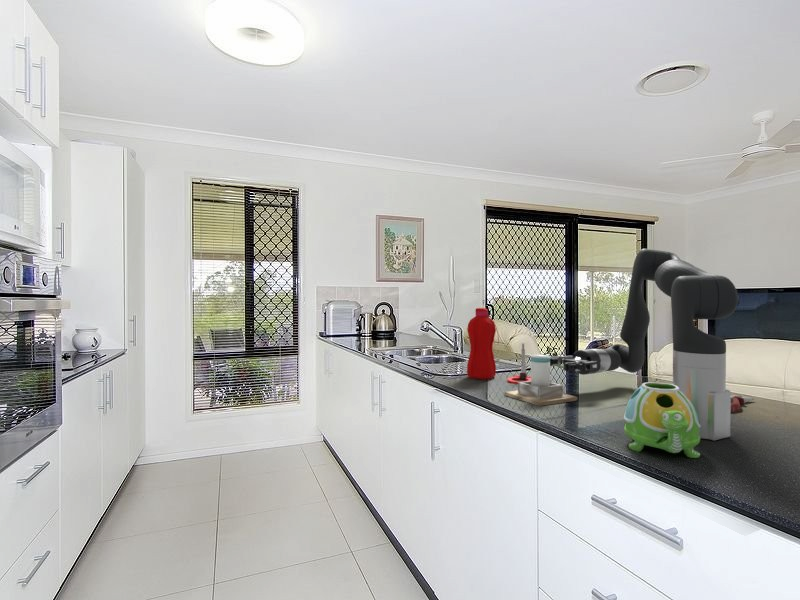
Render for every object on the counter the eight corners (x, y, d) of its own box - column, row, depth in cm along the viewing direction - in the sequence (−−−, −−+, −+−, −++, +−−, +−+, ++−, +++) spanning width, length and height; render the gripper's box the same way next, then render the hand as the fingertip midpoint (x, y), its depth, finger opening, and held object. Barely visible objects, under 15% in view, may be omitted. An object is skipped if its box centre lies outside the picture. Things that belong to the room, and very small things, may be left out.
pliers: (772, 406, 115) (772, 397, 116) (729, 415, 107) (729, 404, 107) (725, 398, 126) (725, 389, 126) (682, 405, 117) (682, 395, 117)
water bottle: (493, 381, 147) (493, 308, 147) (464, 378, 153) (464, 307, 153) (502, 377, 154) (503, 308, 154) (474, 374, 160) (474, 307, 160)
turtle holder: (634, 465, 73) (635, 395, 73) (619, 433, 90) (619, 377, 90) (721, 475, 69) (721, 401, 69) (687, 440, 86) (688, 381, 86)
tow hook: (528, 386, 141) (536, 380, 149) (527, 347, 140) (535, 343, 148) (503, 384, 145) (512, 378, 153) (503, 346, 145) (511, 342, 153)
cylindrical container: (554, 395, 122) (554, 356, 122) (540, 396, 119) (540, 357, 119) (540, 391, 126) (540, 354, 127) (526, 393, 124) (526, 355, 124)
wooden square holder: (577, 400, 120) (577, 386, 120) (539, 405, 113) (540, 390, 113) (539, 390, 132) (539, 377, 132) (504, 395, 126) (504, 381, 126)
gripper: (572, 346, 139) (535, 349, 132) (611, 351, 126) (573, 355, 119) (572, 370, 139) (535, 374, 132) (611, 377, 126) (573, 382, 119)
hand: (553, 365), depth 125 cm, fingers open, 8 cm apart
